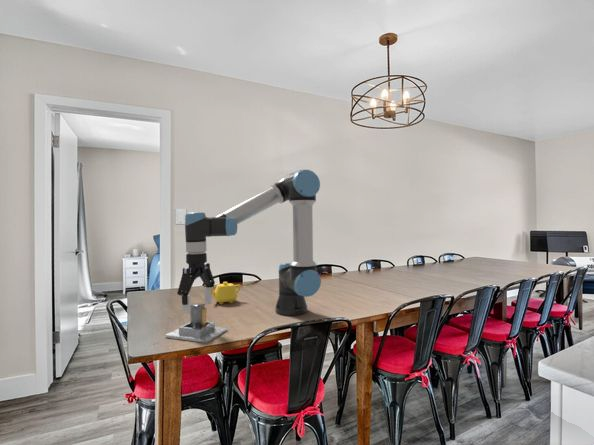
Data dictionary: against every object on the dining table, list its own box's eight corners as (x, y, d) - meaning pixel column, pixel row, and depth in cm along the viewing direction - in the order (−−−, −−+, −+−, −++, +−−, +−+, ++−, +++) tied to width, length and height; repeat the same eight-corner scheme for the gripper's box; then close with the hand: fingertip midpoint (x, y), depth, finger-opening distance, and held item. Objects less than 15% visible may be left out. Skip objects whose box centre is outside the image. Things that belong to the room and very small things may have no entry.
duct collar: (227, 330, 130) (227, 321, 130) (206, 343, 117) (206, 333, 117) (189, 326, 136) (188, 317, 136) (165, 337, 123) (165, 328, 123)
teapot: (207, 306, 167) (207, 285, 167) (206, 301, 177) (205, 281, 177) (243, 303, 173) (243, 282, 173) (239, 298, 183) (239, 279, 183)
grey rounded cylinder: (195, 328, 130) (195, 302, 129) (208, 329, 128) (208, 304, 128) (187, 332, 125) (187, 306, 125) (200, 334, 123) (201, 307, 123)
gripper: (206, 249, 139) (208, 299, 139) (165, 256, 115) (167, 316, 116) (222, 249, 137) (223, 300, 137) (183, 256, 113) (185, 318, 113)
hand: (198, 308), depth 126 cm, fingers open, 13 cm apart
